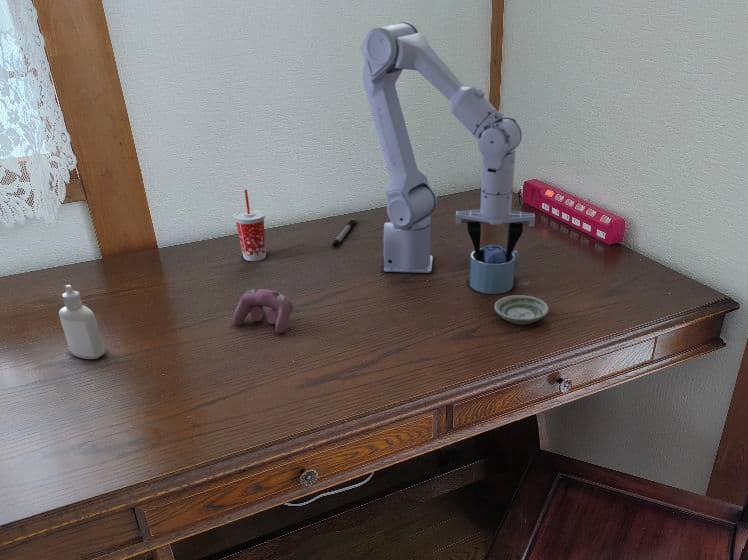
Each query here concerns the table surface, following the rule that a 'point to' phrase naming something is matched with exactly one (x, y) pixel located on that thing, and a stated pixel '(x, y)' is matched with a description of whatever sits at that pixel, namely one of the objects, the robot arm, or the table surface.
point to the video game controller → (255, 303)
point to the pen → (344, 232)
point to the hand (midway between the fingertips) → (492, 260)
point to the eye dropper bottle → (80, 327)
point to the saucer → (521, 309)
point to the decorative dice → (493, 254)
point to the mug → (492, 274)
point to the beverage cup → (251, 232)
